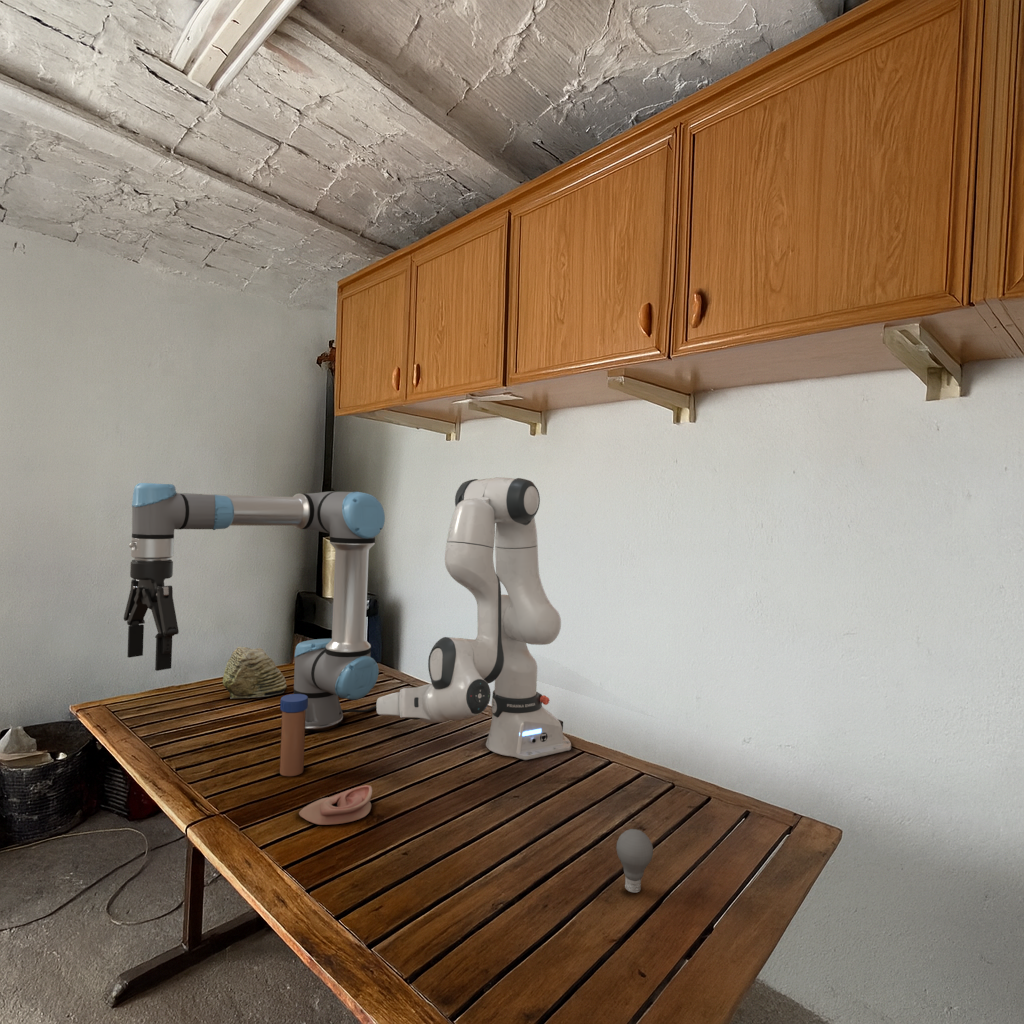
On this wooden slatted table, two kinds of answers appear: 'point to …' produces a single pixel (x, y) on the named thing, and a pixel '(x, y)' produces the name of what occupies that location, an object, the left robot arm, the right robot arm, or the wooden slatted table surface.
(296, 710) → the lid
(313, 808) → the anatomical model
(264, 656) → the fossil
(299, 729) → the jar
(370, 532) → the left robot arm
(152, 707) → the wooden slatted table surface
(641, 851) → the light bulb
